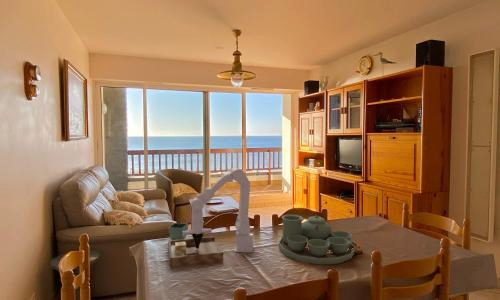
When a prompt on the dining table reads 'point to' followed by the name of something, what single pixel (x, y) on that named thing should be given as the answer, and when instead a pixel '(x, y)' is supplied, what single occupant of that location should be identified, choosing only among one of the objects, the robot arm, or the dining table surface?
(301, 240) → the tea set
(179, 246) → the maple block
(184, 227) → the flower pot
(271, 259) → the dining table surface
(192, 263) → the walnut box
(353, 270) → the dining table surface
